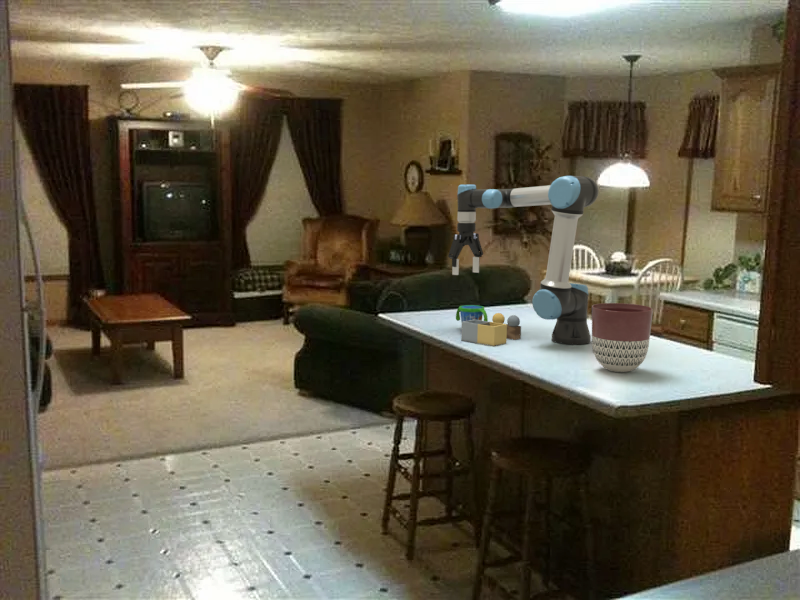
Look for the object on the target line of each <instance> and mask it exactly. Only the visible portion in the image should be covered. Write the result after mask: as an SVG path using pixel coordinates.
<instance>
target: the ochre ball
mask: <svg viewBox="0 0 800 600" xmlns="http://www.w3.org/2000/svg"><path fill="white" fill-rule="evenodd" d="M505 320H506V319H505V316H504V314H502V313H500V312H497V313H495V314H493V316H492V318H491V322H495V323H501V324H505Z"/></svg>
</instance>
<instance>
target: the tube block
mask: <svg viewBox="0 0 800 600" xmlns="http://www.w3.org/2000/svg"><path fill="white" fill-rule="evenodd" d="M507 324H508V323H503V324H501V323H495V322H493V321H489V320H488V321H484V320H482V321H481V320H475V319H474V320H469V321H463V322H461V333H460V334H461V336H460V340H461V341H463V342H466V341H467V342H468V343H472V342H473V344H478V345H483V344H484V346H489V345H490V347H497V346H500V345H501V344H502V345H506V344H507V340H508V339H507ZM467 342H466V343H467ZM496 345H497V346H496Z"/></svg>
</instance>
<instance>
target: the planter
mask: <svg viewBox="0 0 800 600" xmlns="http://www.w3.org/2000/svg"><path fill="white" fill-rule="evenodd" d="M653 310H654V309H653V308H652V307H651V306H647V305H643V304H634V303H625V302H624V303H623V302H619V303H618V302H605V303H596V304H593V305H591V344H592V345H591V346H592V352H593V354H594V355H593V356H594V357H595V360H596V361H597V362H598V363H599V365H601V366H602V367H603V368H604V369H606V370H607V371H610V372H613V373H614V372H615V373H629V372H632V371H635V370H636V369H638V367H640V366H641V364H643V363H644V361H645V359H646V357H647V354H648V351H649V347H650V339H651V331H652V330H651V329H652V322H653Z"/></svg>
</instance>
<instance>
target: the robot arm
mask: <svg viewBox="0 0 800 600" xmlns="http://www.w3.org/2000/svg"><path fill="white" fill-rule="evenodd" d="M456 196H457V220H456V221H457V224H456V225H457V226H456V231H457V232H458V234H456V233H455V234H453V239H452V242H451V246H450V249H449V253H448V258H449V259H451V267H452V268H451V269H452V270H451V271H452V273H451V274H452V276H459V275H460V274H459V269H460V268H459V267H460V265H459V261H460V259H459V255H460V254H461V252H462V250H463V248H464V247H465V246H468V247H469V249H470V251H471V253H472V254H473V256H472V273H478V274H479V273H480V259H481V258H482V257H483V255H484V252H483V248H482V245H481V241H480V238H479V237H480V236H479V233H475V232H476V228H477V227H476V223H475V222H476V221H477V219H476V218H477V216H476V215H477V213H476V212H477V211H476V209H478V208H479V209H489V210H491V209H499V208H500V209H501V208H504V209H509V208H517V207H532V206H533V207H534V206H535V207H536V206H548V205H549V206H550V205H551V209H550V210H551V212H552V213H553V215H554V219H553V224H552V225H553V226H552V233H551V238H550V245H549V252H548V260H547V267H546V273H545V278H544V279H542V280H540V285H539V290H537V291H536V292H535V293H534V295H533V297H532V300H531V303H532V307H533V310H534V312H535V313H536V315H537V316H538V317H539V318H541V319H543V320H548V321H549V320H550V321H551V320H552V321H553V320H556V322H555V325H554V326H553V327H554V328H553V331H552V333H551V342H554V343H557V344H564V345H586V344H590V343H592V335H591V333H590V329H589V326H588V305H589V303H588V302H589V287H588V286H587V285H586V284H581V283H572V282H571V283H570V282H569V279H570V273H571V267H572V266H571V265H572V259H573V255H574V254H573V253H574V245H575V241H576V234H577V227H578V220H579V219H580V218H581V217H582V216H583V215H584V211H585V208H587V207H590V206H592V205H593V204H594V203H595V202H596V201H597V199H598V197H599V186H598V184H597V183H596V181H595V180H594V179H592V178H591V177H588V176H584V175H583V176H580V175H579V176H577V175H564V176H560V177H558V178H555V180H553V181H552V182H551V184H549V185H539V186H529V187H518V188H505V189H504V188H503V189H502V188H501V189H498V188H497V189H494V188H492V189H491V188H489V189H488V188H485V189H484V188H483V189H480V188H479V189H477V185H476V184H459V185H458V186H457V195H456Z"/></svg>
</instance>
